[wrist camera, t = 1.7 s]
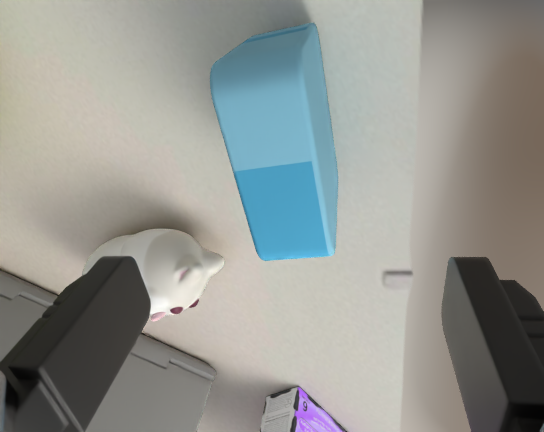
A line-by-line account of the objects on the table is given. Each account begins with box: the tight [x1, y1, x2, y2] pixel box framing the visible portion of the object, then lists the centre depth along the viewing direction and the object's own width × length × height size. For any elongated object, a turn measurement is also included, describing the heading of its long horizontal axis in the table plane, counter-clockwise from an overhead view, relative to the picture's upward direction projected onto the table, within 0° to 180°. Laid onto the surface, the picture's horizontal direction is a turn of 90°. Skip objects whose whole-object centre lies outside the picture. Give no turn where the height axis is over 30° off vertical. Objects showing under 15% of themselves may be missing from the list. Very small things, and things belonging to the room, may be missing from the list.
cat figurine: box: [82, 229, 225, 321], centre depth 36 cm, size 10×8×15 cm
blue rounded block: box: [210, 23, 338, 261], centre depth 25 cm, size 12×4×12 cm, turn 12°
